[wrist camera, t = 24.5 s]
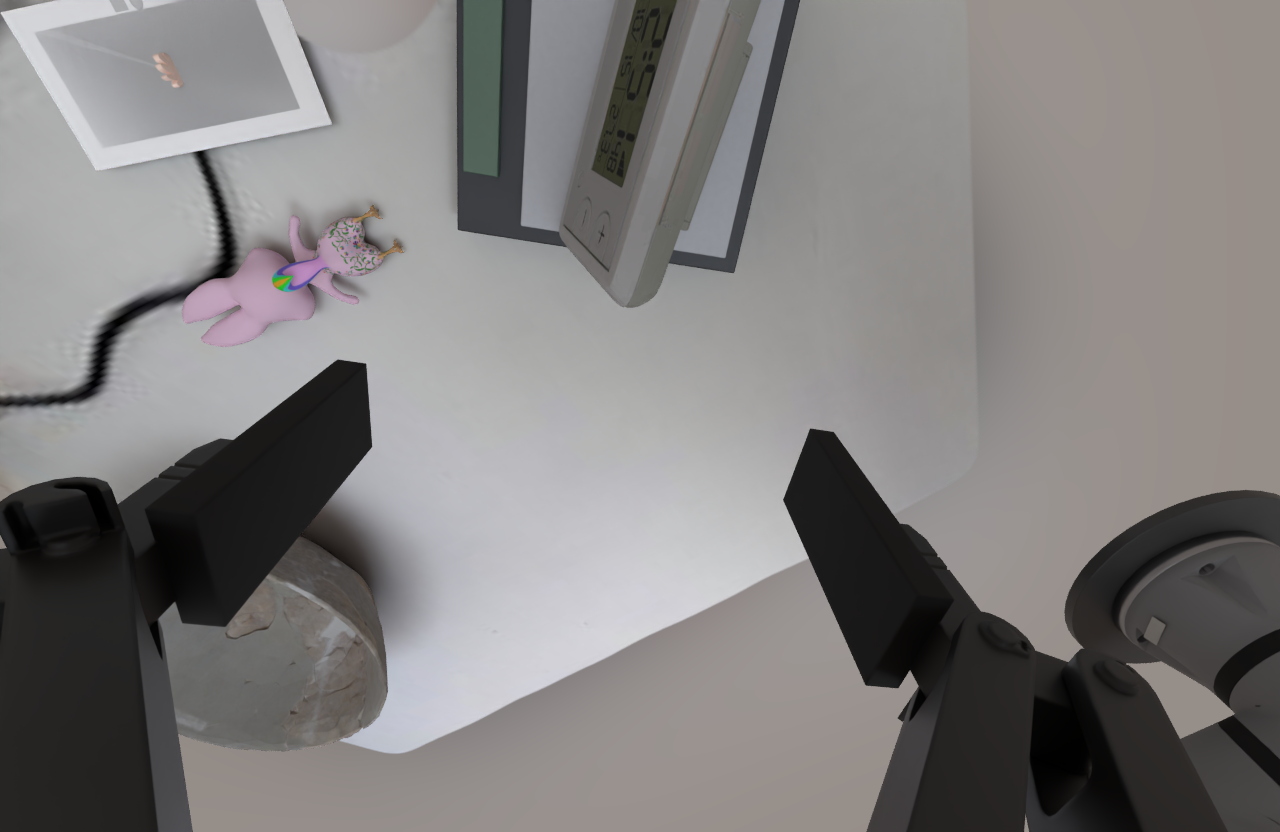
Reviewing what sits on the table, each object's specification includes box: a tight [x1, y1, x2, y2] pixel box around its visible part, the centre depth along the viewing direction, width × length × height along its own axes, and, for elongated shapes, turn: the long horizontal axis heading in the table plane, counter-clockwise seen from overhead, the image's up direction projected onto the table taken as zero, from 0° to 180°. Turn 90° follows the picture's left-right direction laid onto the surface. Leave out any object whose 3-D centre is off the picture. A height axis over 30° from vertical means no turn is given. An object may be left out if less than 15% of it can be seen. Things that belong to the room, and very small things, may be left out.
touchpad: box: [1, 0, 332, 171], centre depth 29 cm, size 8×15×2 cm, turn 100°
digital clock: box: [559, 0, 761, 308], centre depth 25 cm, size 16×9×11 cm, turn 150°
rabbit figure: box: [182, 205, 405, 347], centre depth 34 cm, size 6×6×15 cm
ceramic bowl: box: [159, 536, 388, 751], centre depth 45 cm, size 22×23×10 cm
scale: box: [457, 0, 800, 273], centre depth 30 cm, size 18×18×3 cm
